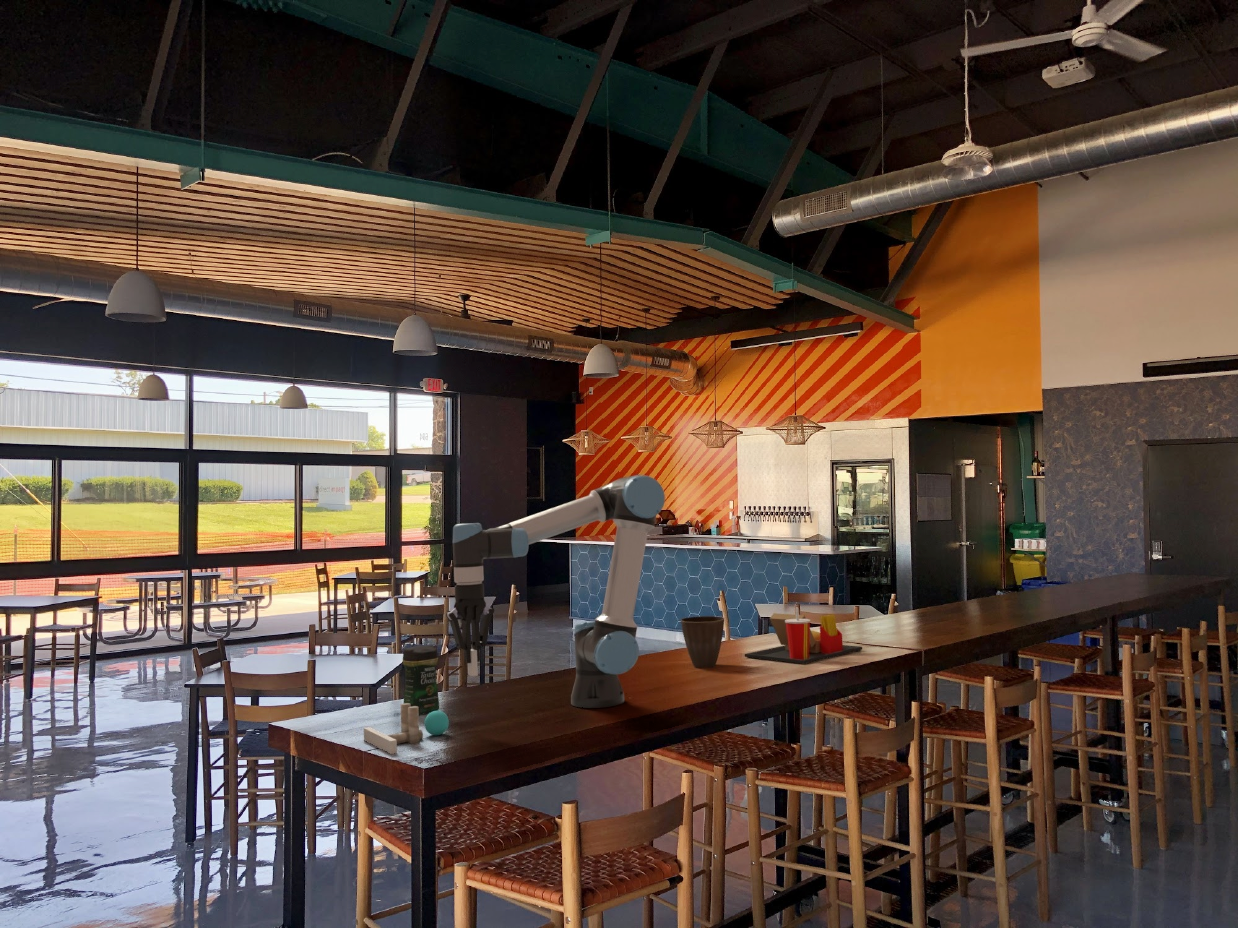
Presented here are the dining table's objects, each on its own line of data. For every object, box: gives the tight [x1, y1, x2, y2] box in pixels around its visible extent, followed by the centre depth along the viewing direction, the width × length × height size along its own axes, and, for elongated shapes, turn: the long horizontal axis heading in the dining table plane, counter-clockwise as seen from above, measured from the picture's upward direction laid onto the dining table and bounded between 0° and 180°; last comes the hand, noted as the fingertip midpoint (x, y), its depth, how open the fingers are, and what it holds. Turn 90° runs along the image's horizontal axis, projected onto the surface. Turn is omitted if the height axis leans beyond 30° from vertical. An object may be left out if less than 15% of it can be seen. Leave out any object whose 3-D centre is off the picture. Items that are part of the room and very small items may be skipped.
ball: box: [423, 710, 450, 736], centre depth 232 cm, size 6×6×6 cm
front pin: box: [386, 728, 424, 745], centre depth 226 cm, size 2×2×8 cm
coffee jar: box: [402, 644, 440, 716], centre depth 260 cm, size 10×8×19 cm
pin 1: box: [400, 702, 410, 733], centre depth 229 cm, size 2×2×8 cm
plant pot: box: [680, 615, 725, 669], centre depth 315 cm, size 15×15×16 cm
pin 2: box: [408, 706, 420, 745], centre depth 225 cm, size 2×2×8 cm
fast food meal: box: [744, 606, 863, 665], centre depth 331 cm, size 26×35×18 cm
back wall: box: [363, 726, 398, 755], centre depth 223 cm, size 2×18×3 cm, turn 35°
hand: (472, 675), depth 238 cm, fingers closed
